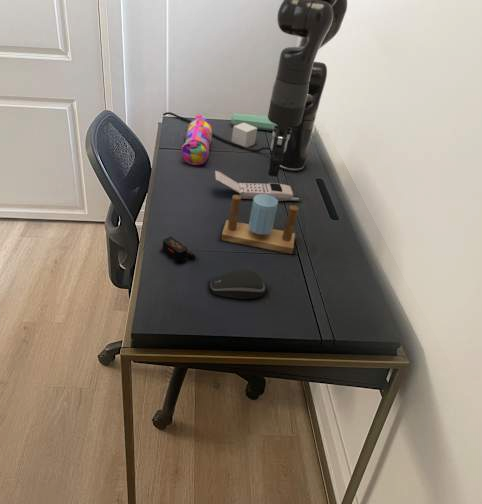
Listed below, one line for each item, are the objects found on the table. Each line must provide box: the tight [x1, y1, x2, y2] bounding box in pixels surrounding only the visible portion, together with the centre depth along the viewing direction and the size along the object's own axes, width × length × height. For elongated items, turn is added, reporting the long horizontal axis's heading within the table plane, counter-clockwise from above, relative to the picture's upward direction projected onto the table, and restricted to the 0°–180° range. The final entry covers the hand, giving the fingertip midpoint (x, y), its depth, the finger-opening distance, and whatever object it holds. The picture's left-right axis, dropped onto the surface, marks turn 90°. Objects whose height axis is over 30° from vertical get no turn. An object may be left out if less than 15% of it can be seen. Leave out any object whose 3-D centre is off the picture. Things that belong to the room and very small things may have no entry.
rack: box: [220, 194, 299, 255], centre depth 123 cm, size 18×7×11 cm, turn 79°
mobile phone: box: [214, 170, 300, 202], centre depth 143 cm, size 6×6×25 cm
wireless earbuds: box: [162, 236, 196, 263], centre depth 116 cm, size 5×7×3 cm, turn 44°
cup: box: [248, 194, 279, 235], centre depth 122 cm, size 6×6×8 cm
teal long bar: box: [230, 112, 277, 132], centre depth 185 cm, size 6×6×25 cm
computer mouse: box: [209, 268, 266, 300], centre depth 108 cm, size 7×12×4 cm, turn 94°
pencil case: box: [180, 114, 213, 166], centre depth 161 cm, size 22×9×9 cm, turn 178°
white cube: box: [230, 123, 258, 148], centre depth 172 cm, size 6×6×6 cm
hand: (274, 167), depth 116 cm, fingers open, 8 cm apart
